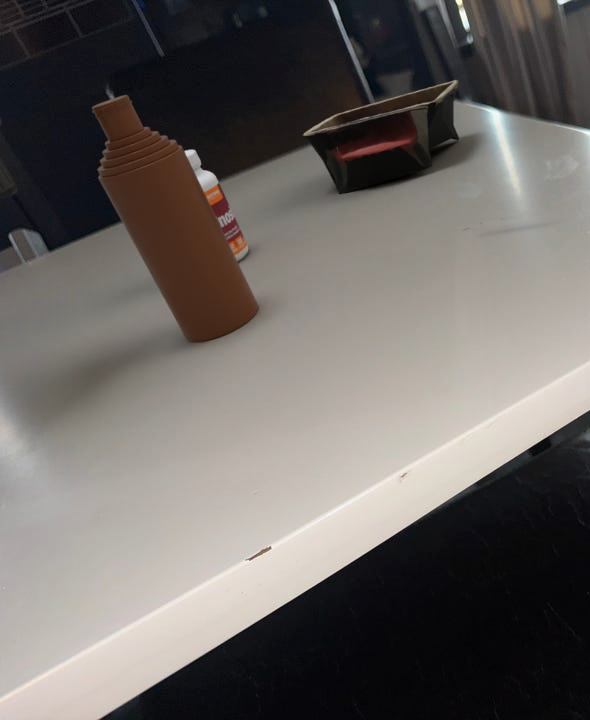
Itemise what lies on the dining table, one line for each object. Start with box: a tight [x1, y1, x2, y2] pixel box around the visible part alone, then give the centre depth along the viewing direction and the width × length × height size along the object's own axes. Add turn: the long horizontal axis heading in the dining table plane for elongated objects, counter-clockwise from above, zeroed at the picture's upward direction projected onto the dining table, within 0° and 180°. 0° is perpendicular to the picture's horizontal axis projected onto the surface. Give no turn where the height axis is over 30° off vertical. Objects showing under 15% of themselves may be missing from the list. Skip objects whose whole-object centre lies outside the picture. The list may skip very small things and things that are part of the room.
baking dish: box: [302, 79, 460, 195], centre depth 89 cm, size 14×18×10 cm
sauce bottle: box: [91, 94, 260, 343], centre depth 60 cm, size 6×6×18 cm
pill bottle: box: [184, 149, 249, 263], centre depth 76 cm, size 6×6×11 cm
